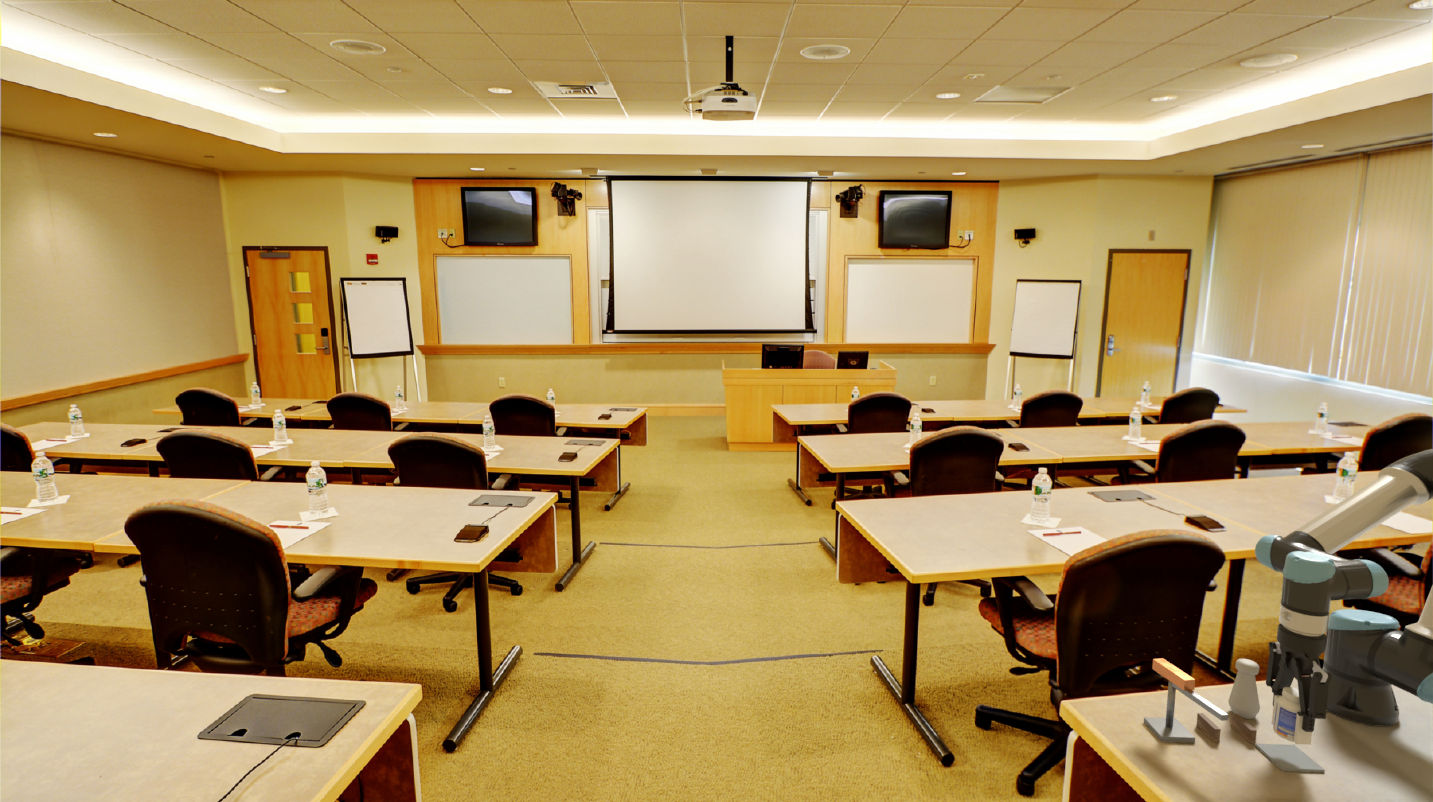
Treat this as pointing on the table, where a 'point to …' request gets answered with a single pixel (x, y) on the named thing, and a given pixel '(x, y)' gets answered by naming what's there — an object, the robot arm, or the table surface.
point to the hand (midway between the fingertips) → (1290, 733)
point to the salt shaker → (1245, 690)
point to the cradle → (1236, 724)
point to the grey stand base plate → (1169, 730)
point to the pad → (1289, 758)
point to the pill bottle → (1287, 713)
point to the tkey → (1182, 690)
